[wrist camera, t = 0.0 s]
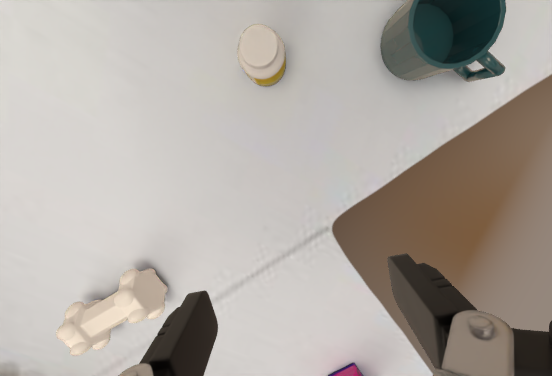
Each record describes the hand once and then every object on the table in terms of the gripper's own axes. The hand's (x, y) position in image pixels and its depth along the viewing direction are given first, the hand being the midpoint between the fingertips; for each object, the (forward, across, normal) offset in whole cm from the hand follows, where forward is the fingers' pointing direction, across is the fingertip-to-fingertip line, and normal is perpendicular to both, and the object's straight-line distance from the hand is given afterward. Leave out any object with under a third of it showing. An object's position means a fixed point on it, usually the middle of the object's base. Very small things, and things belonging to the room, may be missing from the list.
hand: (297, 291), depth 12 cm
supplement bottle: (+30, 0, -15) cm, 33 cm away
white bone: (+30, +32, +15) cm, 46 cm away
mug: (+29, -21, -12) cm, 38 cm away
